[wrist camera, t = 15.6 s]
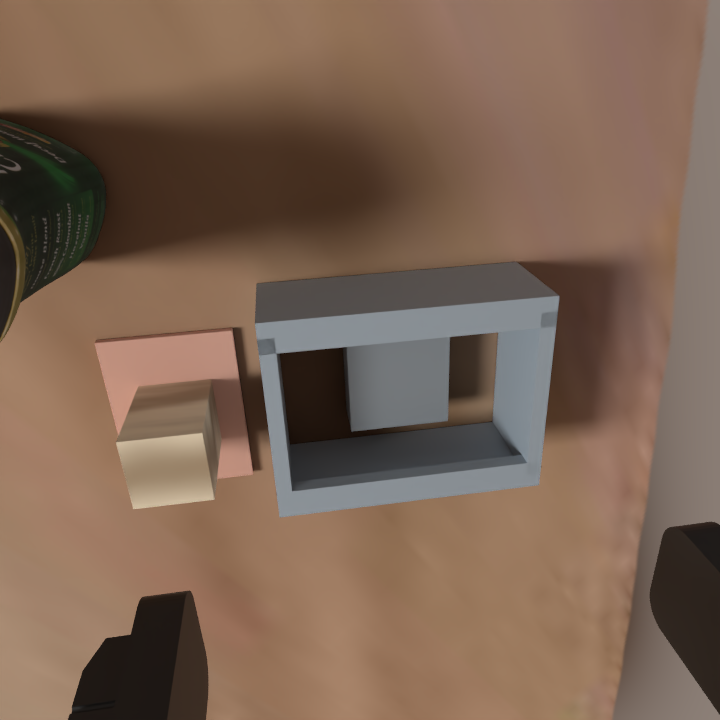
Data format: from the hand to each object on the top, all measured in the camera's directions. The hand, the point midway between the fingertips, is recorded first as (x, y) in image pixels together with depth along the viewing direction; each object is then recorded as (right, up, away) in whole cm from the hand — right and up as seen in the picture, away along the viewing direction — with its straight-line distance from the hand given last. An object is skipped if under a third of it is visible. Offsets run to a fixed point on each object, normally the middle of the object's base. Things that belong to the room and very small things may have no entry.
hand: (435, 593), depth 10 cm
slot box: (+1, +4, +34) cm, 35 cm away
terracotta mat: (-14, 0, +34) cm, 37 cm away
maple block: (-14, 0, +33) cm, 36 cm away
